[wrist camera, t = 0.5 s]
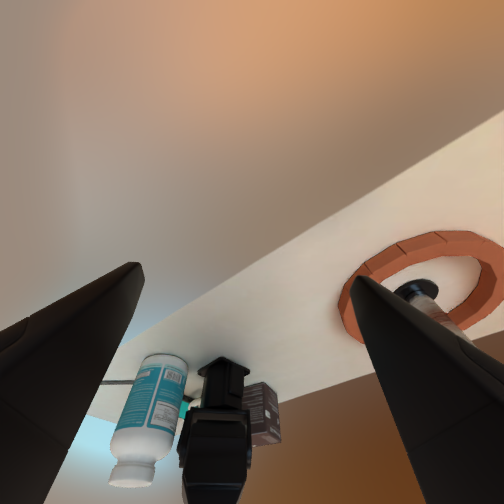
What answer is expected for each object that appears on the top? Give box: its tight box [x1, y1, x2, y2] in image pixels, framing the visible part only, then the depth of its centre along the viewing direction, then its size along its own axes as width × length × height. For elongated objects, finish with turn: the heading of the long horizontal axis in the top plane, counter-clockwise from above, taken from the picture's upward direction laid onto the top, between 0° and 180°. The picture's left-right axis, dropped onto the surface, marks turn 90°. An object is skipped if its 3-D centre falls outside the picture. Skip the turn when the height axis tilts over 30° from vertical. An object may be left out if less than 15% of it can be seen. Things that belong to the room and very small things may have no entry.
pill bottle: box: [108, 354, 188, 488], centre depth 30 cm, size 8×7×14 cm
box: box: [242, 383, 281, 447], centre depth 38 cm, size 6×6×7 cm
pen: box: [100, 381, 134, 385], centre depth 38 cm, size 1×1×14 cm
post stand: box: [394, 279, 476, 347], centre depth 23 cm, size 5×5×8 cm
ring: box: [338, 231, 504, 344], centre depth 26 cm, size 18×18×2 cm
